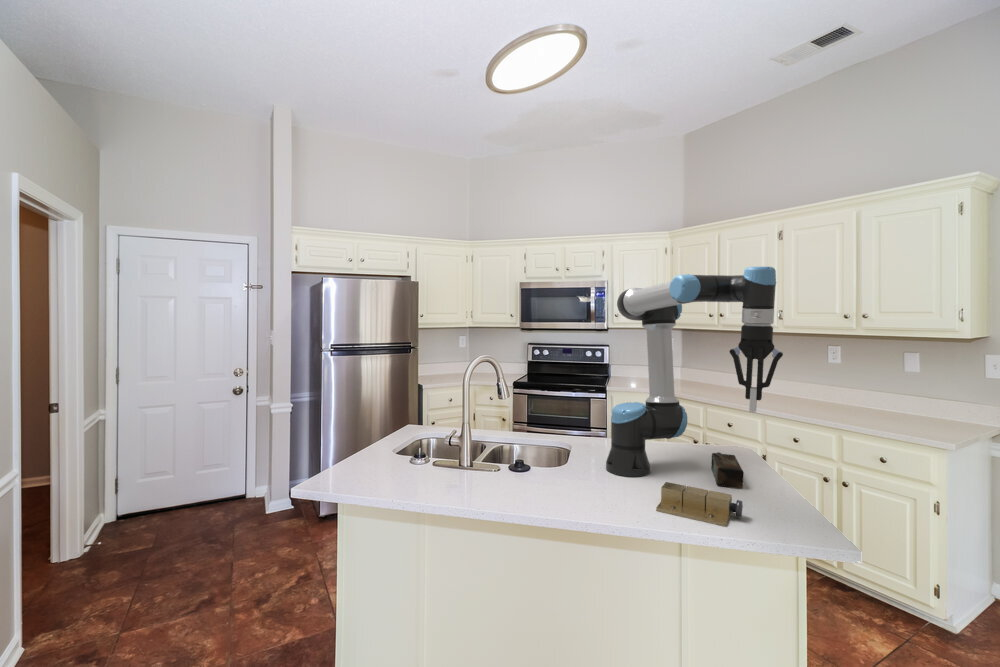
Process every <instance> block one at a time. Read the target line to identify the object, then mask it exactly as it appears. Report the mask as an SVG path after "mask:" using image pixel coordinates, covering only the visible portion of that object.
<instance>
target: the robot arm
mask: <svg viewBox="0 0 1000 667" xmlns="http://www.w3.org/2000/svg"><path fill="white" fill-rule="evenodd" d="M776 286H777V273H776V269H775V267H773V266H748V267H747V266H746V267H745V269H744V272H743V274H742V275H741V274H740V275H724V274H723V275H720V274H719V275H717V274H716V275H715V274H713V275H712V274H711V275H709V274H708V275H707V274H706V275H705V274H690V273H685V274H678V275H675V276H674V277H673V279H671V280H670V281H666V282H662V283H659V284H654V285H652V286H647V287H644V288H639V287H631V288H628V289H626V290H624V291H622V292H621V293H620V294H619V296H618V298H617V302H616V306H617V310H618V313H620V315H621V316H623V317H624V318H625V319H628V320H631V321H640V322H641V327H642V328H643V329H645V331H646V344H647V345H646V347H647V349H646V350H647V364H648V365H647V367H648V368H647V371H648V387H649V388H648V389H649V390H648V391H649V393H648V394H649V395H648V397H647V398H646V399H645V401H644V402H645V403H643V402H637V401H636V402H635V401H634V402H631V401H630V402H623V403H619V404H616V405H615V406H613V408H612V410H611V418H610V422H611V426H610V428H611V429H610V430H611V432H610V433H611V434H610V435H611V436H610V437H611V439H610V440H611V443H610V444H611V445H610V450H609V452H608V456H607V458H606V461H605V470H607V472H609V473H610V474H613V475H618V476H621V477H627V478H628V477H631V478H632V477H633V478H636V477H644V476H647V475H649V474H650V473H651V464H650V460H649V458H648V454H647V451H646V440H647V441H648V440H650V441H651V440H663V439H664V440H665V439H667V440H670V439H675V438H680V437H681V436H682V435H683V434H684V433H685V431H686V429H687V427H688V414H687V412H686V408H684V406H682V405H680V400H679V399H678V398H677V397H676V396H675V376H674V374H675V373H674V356H673V353H674V352H673V337H672V336H673V335H672V330H673V328H674V327H676V324H677V323H676V321H677V320H679V319H680V318H681V314H682V312H683V305H684V304H690V303H691V304H692V303H700V302H701V303H702V302H706V303H714V302H715V303H742V306H741V307H742V310H741V323H742V324H743V325H742V326H741V330H740V331H741V333H740V341H739V343H738V346H736V347H734V348H730V349H729V354H730V355H731V357H732V359H733V363H734V368H735V371H736V377H737V383H738V384H739V385H741V386H744V387H745V399H746V400H749V407H748V408H749V409H748V412H749V413H753V414H756V413H757V402H758V401H761V400H762V399H763V397H762V395H763V389H764V388H769V387H770V385H771V383H772V379H773V376H774V374H775V371H776V369H777V366H778V361H779V360H780V359H781V358H782V357H783V355H784V352H782V351H780V350H778V349H776V348H775V345H774V342H773V341H774V340H773V339H774V327H773V324H774V321H775V320H774V319H775V318H774V317H775V300H776ZM740 351H741V352H740ZM741 353H742V354H743V356H744V357H745V358H746V372H745V373H746V375H745V376H746V378H745V377H744V374H743V368H742V364H741V358H740V354H741ZM771 353H772V355H771V356H772V358H773V359H772V361H771V364H770V367H769V370H768V373H767V375H766V378H765V381H763V379H764V365H765V364H764V362H765V359H766V358H767V357H768V356H769V355H770V354H771ZM754 360H757V371H756V372H757V373H756V386H752V384H753V366H754Z"/></svg>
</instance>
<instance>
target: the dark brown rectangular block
mask: <svg viewBox="0 0 1000 667" xmlns="http://www.w3.org/2000/svg"><path fill="white" fill-rule="evenodd" d="M711 471H712V475H713V477H714V481H715V483H716V486H717V487H723V488H730V489H737V490H738V489H739V490H742V489H743V488H744V477H745V476H744V475H745V474H744V470H743V468H742V466H741V465H740V462H739V461H738V459H737V457H736V455H734V454H727V453H722V452H718V451H717V452H712V453H711Z"/></svg>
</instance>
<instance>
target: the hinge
mask: <svg viewBox="0 0 1000 667" xmlns="http://www.w3.org/2000/svg"><path fill="white" fill-rule="evenodd" d="M660 490H661V491H660V493H661V494H660V495H661V496H660V497H661V498H660V502H659V504H658V505H657V506H656V510H655V511H656V512H660V513H663V514H669V515H674V516H678V517H681V518H682V517H683V518H687V519H690V520H696V521H700V522H703V523H709V524H713V525H716V526H722V527H727V525H728V523H729V520H730V517H731V515H732V513H733V512H730V511H729V508H730V502H731V503H733V502H732V500H733V495H732V494H731V493H726V492H725V493H724V492H721V491H720V492H719V491H715V490H710V489H706V488H705V489H704V488H700V487H694V486H688V485H685V484H684V485H682V484H680V483H679V484H678V483H673V482H668V481H665V482H664V484H663V485H662V486H661V489H660Z"/></svg>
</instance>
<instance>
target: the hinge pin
mask: <svg viewBox="0 0 1000 667" xmlns="http://www.w3.org/2000/svg"><path fill="white" fill-rule="evenodd" d="M743 508H744V506H743V500H739V499H737V500H736V502H732V503H731V502H730V508H729V511H730V512H732V513H735V517H736V518H742V517H743V516H742V515H743Z"/></svg>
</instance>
